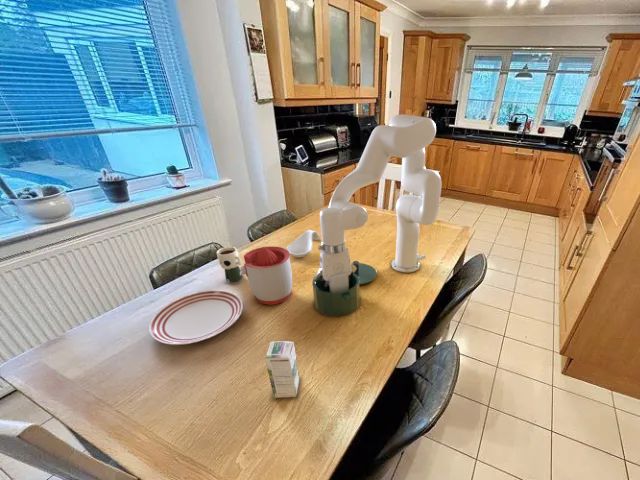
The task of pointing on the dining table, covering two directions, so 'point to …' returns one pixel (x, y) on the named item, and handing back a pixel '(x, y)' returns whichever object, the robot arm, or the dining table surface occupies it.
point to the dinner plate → (196, 317)
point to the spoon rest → (303, 244)
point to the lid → (364, 272)
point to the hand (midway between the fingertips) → (336, 290)
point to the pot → (337, 298)
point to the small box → (339, 283)
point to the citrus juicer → (268, 274)
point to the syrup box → (282, 369)
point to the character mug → (230, 263)
